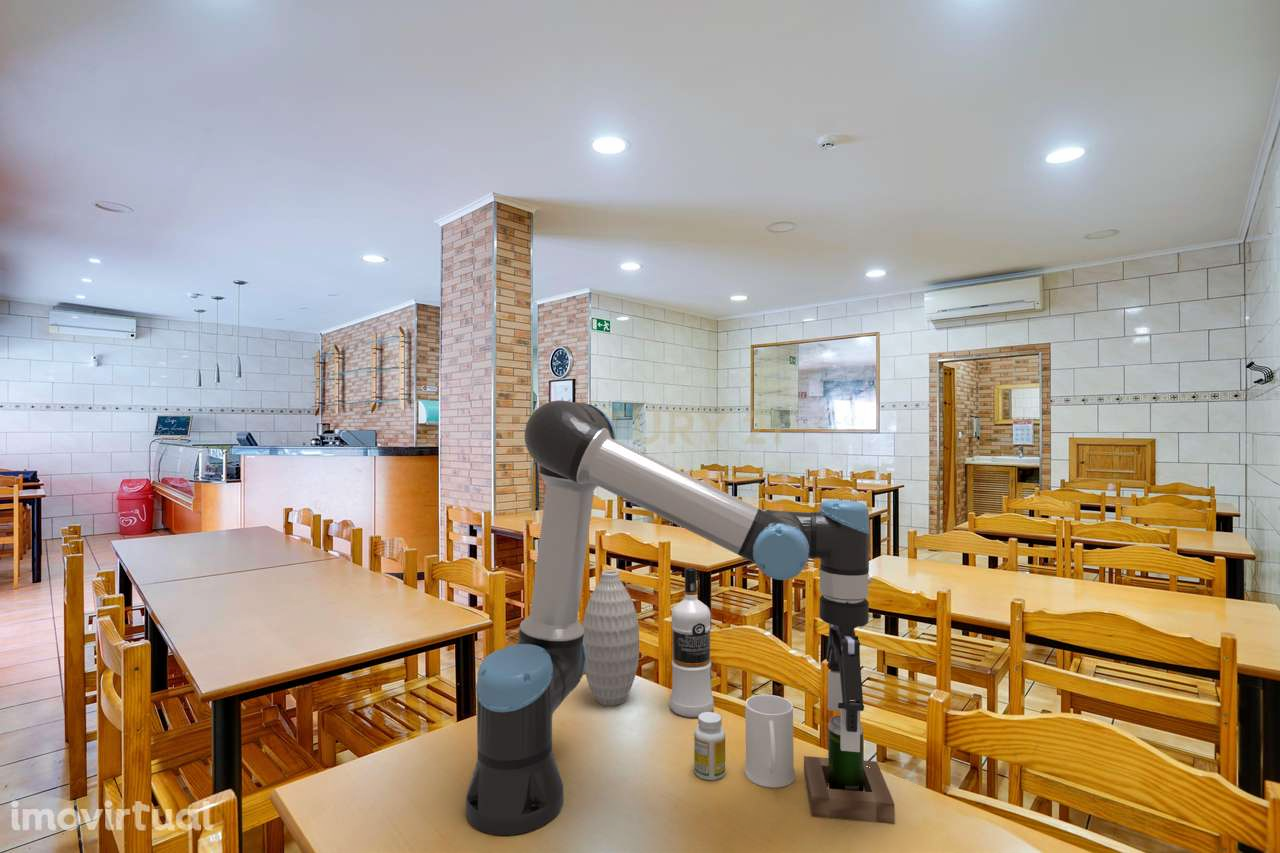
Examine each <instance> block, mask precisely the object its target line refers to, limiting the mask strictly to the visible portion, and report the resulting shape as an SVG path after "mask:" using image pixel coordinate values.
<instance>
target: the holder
mask: <svg viewBox="0 0 1280 853" xmlns="http://www.w3.org/2000/svg"><path fill="white" fill-rule="evenodd" d="M863 762H864V792H863V791H851V790H839V789H829V788H828V787H827V785H829V771H828V757H821V756H820V757H819V756H807V755H803V775H804V776H803V777H804V781H805V788H806V791H807V797H808V798H807V799H808V802H809V807H810V812H811V817H813V818H822V819H823V818H825V819H826V818H827V819H835V820H848V821H858V822H867V823H868V822H871V823H880V824H891V825H895V824H896V823H895V814H896V811H895V810H896V809H895V808H896V807H895V802H894V799H893V797H892V795H891V793H890V789H889V788H888V785H887V783H886V781H885V777H884V776H883V775H884V774H883V773H882V770H881V768H880V766H879V764H878V761H874V760H873V761H872V760H863ZM866 766H868V767H866ZM869 767H870V768H869Z"/></svg>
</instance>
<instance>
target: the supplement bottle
mask: <svg viewBox="0 0 1280 853" xmlns="http://www.w3.org/2000/svg"><path fill="white" fill-rule="evenodd" d="M697 719H698V720H697V723H698V726H697V727H695V730H694V733H693V737H694V738H693V739H694V740H693V742H694V745H693V747H694V748H693V749H694V751H693V752H694V754H693V755H694V756H693V757H694V758H693V759H694V762H693V764H694V765H693V766H694V768H693V769H694V773H695V774H696V776H697V777H699V778H700V779H702V780H706V781H716V780H719V779H721V778H723V777H724V776H725V774H726V731H725V730H724V727H722V724H723V723H722V720H723V719H722V716H721V715H720V714H719V713H716V712H713V711H711V712H704V713H701V714H700V715H699V716H698V717H697Z"/></svg>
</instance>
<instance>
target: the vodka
mask: <svg viewBox="0 0 1280 853" xmlns="http://www.w3.org/2000/svg"><path fill="white" fill-rule="evenodd" d="M697 571H698V570H697V568H695V567H686V568H684V599H681V601H680V602H678V603H677V604H675V605H674V606H673V608H672V611H671V613H670V614H671V629H672V660H671V666H672V685H671V694H670V696H669V697H670V698H669V706H670V708H671V710H672V711H673V712H674V713H675V714H677V715H678V714H679V716H682V717H685V718H691V717H693V718H694V717H695V718H698V716H699V715H700V714H701V713H704V712H713V708H714V702H715V701H714V696H713V691H712V685H711V684H712V683H711V668H712V667H711V666H712V661H711V629H712V628H711V627H712V625H711V616H712V613H711V610H710V607H708V605H707V604H705V603H703V602H702V601H701V600H699V599H698V590H697V589H698V588H697V586H698V585H697V584H698V583H697V581H698V580H697V579H698V578H697V577H698V576H697V574H698V573H697ZM693 718H692V719H693ZM695 718H694V719H695Z"/></svg>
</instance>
